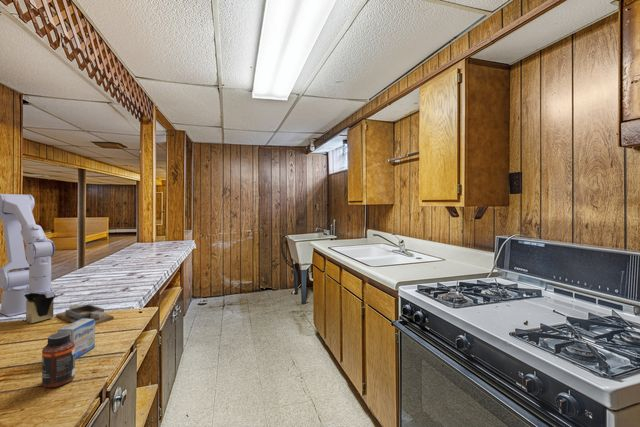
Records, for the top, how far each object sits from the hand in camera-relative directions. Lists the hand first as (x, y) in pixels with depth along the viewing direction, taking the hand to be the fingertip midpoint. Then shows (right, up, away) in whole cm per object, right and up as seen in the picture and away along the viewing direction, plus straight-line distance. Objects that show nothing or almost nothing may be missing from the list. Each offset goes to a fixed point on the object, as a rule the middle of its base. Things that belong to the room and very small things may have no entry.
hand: (39, 314), depth 106 cm
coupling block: (0, -2, 0) cm, 2 cm away
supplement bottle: (+36, -5, -34) cm, 49 cm away
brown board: (+13, -3, +4) cm, 14 cm away
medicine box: (+30, -4, -21) cm, 37 cm away
